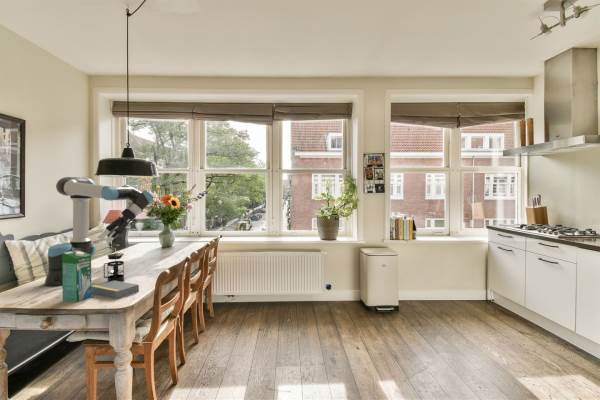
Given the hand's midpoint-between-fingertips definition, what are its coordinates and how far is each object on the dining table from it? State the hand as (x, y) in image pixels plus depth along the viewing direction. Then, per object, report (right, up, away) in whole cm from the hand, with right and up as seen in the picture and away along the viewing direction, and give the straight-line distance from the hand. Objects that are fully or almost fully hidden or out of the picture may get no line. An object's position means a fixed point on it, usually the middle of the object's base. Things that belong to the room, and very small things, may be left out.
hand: (103, 240), depth 185 cm
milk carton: (-7, -30, -11) cm, 32 cm away
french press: (-5, -28, +21) cm, 36 cm away
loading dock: (+7, -29, 0) cm, 30 cm away
